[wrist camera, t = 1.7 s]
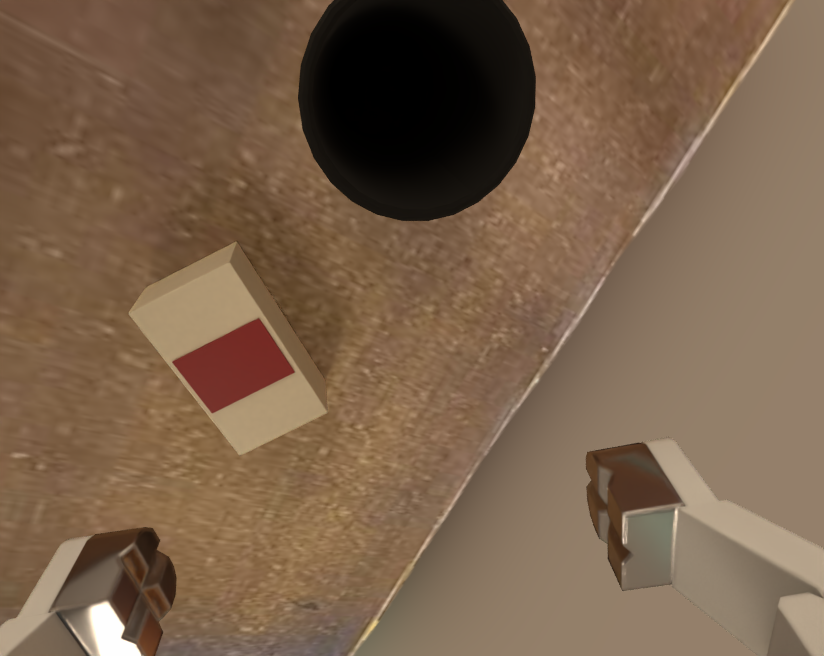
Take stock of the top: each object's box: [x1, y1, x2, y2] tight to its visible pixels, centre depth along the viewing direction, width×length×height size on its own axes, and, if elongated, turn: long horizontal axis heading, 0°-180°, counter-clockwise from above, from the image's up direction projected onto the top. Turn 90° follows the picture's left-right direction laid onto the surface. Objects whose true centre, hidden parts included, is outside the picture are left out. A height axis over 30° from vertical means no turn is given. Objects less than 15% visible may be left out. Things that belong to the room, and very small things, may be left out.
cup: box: [298, 0, 536, 221], centre depth 24 cm, size 8×8×12 cm
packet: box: [128, 242, 328, 456], centre depth 32 cm, size 10×6×4 cm, turn 25°
